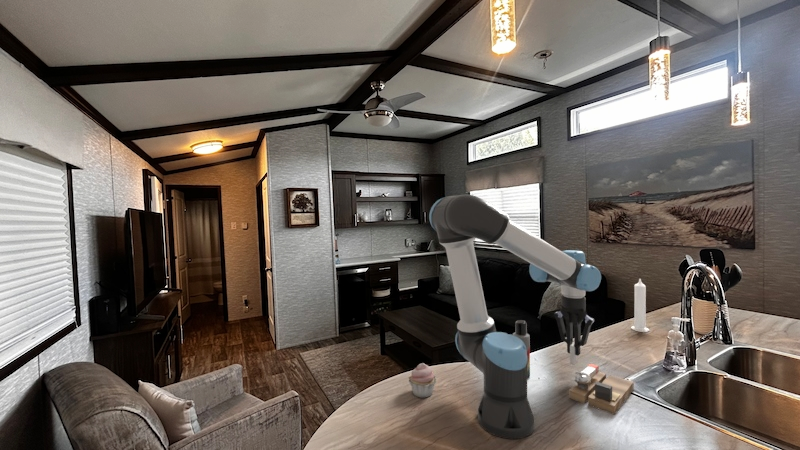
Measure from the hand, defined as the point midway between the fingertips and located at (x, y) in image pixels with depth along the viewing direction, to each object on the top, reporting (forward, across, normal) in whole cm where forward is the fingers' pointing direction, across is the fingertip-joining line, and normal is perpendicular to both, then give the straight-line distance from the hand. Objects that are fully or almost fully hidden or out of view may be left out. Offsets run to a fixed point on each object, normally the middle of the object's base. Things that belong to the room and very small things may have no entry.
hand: (573, 363), depth 119 cm
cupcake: (+6, +31, +43) cm, 53 cm away
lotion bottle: (+6, +14, +10) cm, 18 cm away
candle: (+6, -3, -74) cm, 74 cm away
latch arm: (+2, -6, +4) cm, 7 cm away
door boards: (+6, -10, +3) cm, 12 cm away
